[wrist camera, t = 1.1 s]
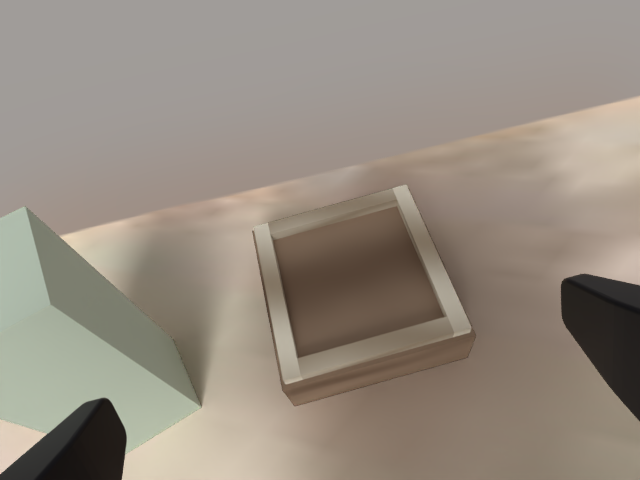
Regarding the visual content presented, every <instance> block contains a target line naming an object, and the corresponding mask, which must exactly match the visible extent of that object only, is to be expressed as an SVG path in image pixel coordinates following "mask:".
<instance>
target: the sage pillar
mask: <svg viewBox="0 0 640 480" xmlns="http://www.w3.org/2000/svg"><path fill="white" fill-rule="evenodd" d="M104 397H105V398H108V399H109V400H110V401H111V402H112V404H113V406H114V408H115V410H116V412H117V414H118V416H119V418H120V420H121V421H122V423H123V425H124V427H125V430H126V435H127V444H126V451H125V454H127V453H128V452H130V451H132V450H133V449H135V448H136V447H138V446H140V445H141V444H143V443H145V442H146V441H148V440H149V439H151V438H153V437H154V436H156V435H158V434H159V433H161V432H162V431H164V430H166V429H167V428H169V427H170V426H172V425H174V424H175V423H177V422H179V421H180V420H182V419H183V418H185V417H187V416H188V415H190V414H192V413H193V412H195V411H196V410H198V409H200V408H201V405H200V402H199V400H198V398H197V395H196V393H195V390H194V388H193V386H192V383H191V381H190V378H189V376H188V374H187V371H186V369H185V367H184V364H183V362H182V359H181V357H180V355H179V352H178V350H177V347H176V345H175V343H174V340H173V339H172V338H171V337H170V336H169V335H168V334H167V333H166V332H165V331H164V330H162V329H161V328H160V327H159V326H158V325H157V324H156V323H155V322H154V321H152V320H151V319H150V318H149V317H148V316H147V315H146V314H145V313H144V312H142V311H141V310H140V309H139V308H138V307H137V306H136V305H135V304H134V303H132V302H131V301H130V300H129V299H128V298H127V297H126V296H125V295H124V294H122V293H121V292H120V291H119V290H118V289H117V288H116V287H115V286H114V285H112V284H111V283H110V282H109V281H108V280H107V279H106V278H105V277H104V276H102V275H101V274H100V273H99V272H98V271H97V270H96V269H95V268H94V267H92V266H91V265H90V264H89V263H88V262H87V261H86V260H85V259H84V258H83V257H81V256H80V255H79V254H78V253H77V252H76V251H75V250H74V249H73V248H71V247H70V246H69V245H68V244H67V243H66V242H65V241H64V240H63V239H61V238H60V237H59V236H58V235H57V234H56V233H55V232H53V231H52V230H51V229H50V228H49V227H48V226H47V225H46V224H45V223H44V222H43V221H41V220H40V219H39V218H38V217H37V216H36V215H35V214H34V213H33V212H31V211H30V210H29V209H28V208H27V207H26V206H24V207H22V208H20V209H18V210H16V211H14V212H12V213H10V214H8V215H6V216H4V217H2V218H0V419H1V420H4V421H7V422H11V423H14V424H17V425H21V426H24V427H27V428H30V429H34V430H37V431H40V432H44V433H47V434H48V433H49V432H50V431H51V430H53V429H54V428H55V427H56V426H57V425H58V424H60V423H61V422H62V421H63V420H64V419H65V418H67V417H68V416H69V415H70V414H71V413H72V412H74V411H75V410H76V409H77V408H78V407H80V406H81V405H82V404H83V403H85V402H88V401H91V400H95V399H99V398H104Z"/></svg>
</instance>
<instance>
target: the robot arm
mask: <svg viewBox="0 0 640 480" xmlns="http://www.w3.org/2000/svg"><path fill="white" fill-rule="evenodd" d="M561 309H562V319H563V322H564V324H565V326H566V328H567V329H568V330H569V332H570V333H571V335H572V336H573V337H574V339H575V340H576V341H577V343H578V344H579V346H580V347H581V348H582V350H583V351H584V352H585V354H586V355H587V357H588V358H589V359H590V361H591V362H592V364H593V365H594V366H595V368H596V369H597V370H598V372H599V373H600V375H601V376H602V377H603V379H604V380H605V381H606V383H607V384H608V385H609V387H610V388H611V389H612V390H613V392H614V393H615V394H616V395H617V396H618V397H619V399H620V400H621V401H622V402H623V403H624V404H625V405H626V406H627V408H628V409H629V410H630V411H631V412H632V413H633V414H634V415H635V416H636V418H637V419H638V420H639V421H640V285H635V284H631V283H626V282H621V281H617V280H612V279H607V278H603V277H598V276H593V275H589V274H580V275H576V276H572V277H568V278H565V279H564V280H563V281H562V284H561ZM126 444H127V435H126V430H125V427H124V425H123V423H122V421H121V420H120V418H119V416H118V414H117V412H116V410H115V408H114V406H113V404H112V402H111V401H110V400H109V399H108V398H105V397H104V398H99V399H95V400H91V401H88V402H85V403H83V404H82V405H81V406H80V407H78V408H77V409H76V410H75V411H74V412H72V413H71V414H70V415H69V416H68V417H67V418H65V419H64V420H63V421H62V422H61V423H60V424H58V425H57V426H56V427H55V428H54V429H53V430H51V431H50V432H49V433H48V434H47V435H46V436H44V437H43V438H42V439H41V440H40V441H39V442H37V443H36V444H35V445H34V446H33V447H32V448H30V449H29V450H28V451H27V452H26V453H25V454H23V455H22V456H21V457H20V458H19V459H18V460H16V461H15V462H14V463H13V464H12V465H11V466H9V467H8V468H7V469H6V470H5V471H4V472H2V473H1V474H0V480H122V474H123V466H124V459H125V451H126Z"/></svg>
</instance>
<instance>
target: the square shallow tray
mask: <svg viewBox="0 0 640 480" xmlns="http://www.w3.org/2000/svg"><path fill="white" fill-rule="evenodd" d="M252 232H253V238H254V243H255V248H256V253H257V259H258V264H259V269H260V275H261V280H262V285H263V290H264V296H265V301H266V306H267V312H268V317H269V322H270V327H271V333H272V338H273V343H274V348H275V354H276V359H277V364H278V370H279V375H280V380H281V385H282V390H283V392H284V393H285V394H286V396H287V397H288V398H289V400H290V401H291V402H292V403H293V405H294V406H298V405H301V404H305V403H308V402H312V401H315V400H319V399H322V398H326V397H329V396H333V395H336V394H340V393H344V392H347V391H351V390H354V389H358V388H361V387H365V386H368V385H372V384H375V383H379V382H382V381H386V380H389V379H393V378H397V377H400V376H404V375H407V374H411V373H414V372H418V371H421V370H425V369H428V368H432V367H435V366H439V365H442V364H446V363H449V362H453V361H457V360H460V359H464V358H467V357H468V355H469V352H470V350H471V347H472V345H473V342H474V340H475V337H476V334H475V332H474V330H473V328H472V325H471V323H470V321H469V319H468V317H467V315H466V312H465V310H464V308H463V306H462V304H461V301H460V299H459V297H458V295H457V293H456V290H455V288H454V286H453V284H452V282H451V279H450V277H449V275H448V273H447V271H446V269H445V266H444V264H443V262H442V260H441V258H440V255H439V253H438V251H437V249H436V247H435V244H434V242H433V240H432V238H431V236H430V234H429V231H428V229H427V227H426V225H425V223H424V220H423V218H422V216H421V214H420V212H419V209H418V207H417V205H416V203H415V201H414V199H413V196H412V194H411V192H410V190H409V188H408V187H407V184H406V185H402V186H399V187H395V188H391V189H388V190H384V191H380V192H377V193H373V194H370V195H366V196H362V197H359V198H355V199H352V200H348V201H344V202H341V203H337V204H334V205H330V206H326V207H323V208H319V209H315V210H312V211H308V212H305V213H301V214H297V215H294V216H290V217H287V218H283V219H279V220H276V221H272V222H269V223H265V224H261V225H258V226H254V231H252Z"/></svg>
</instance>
